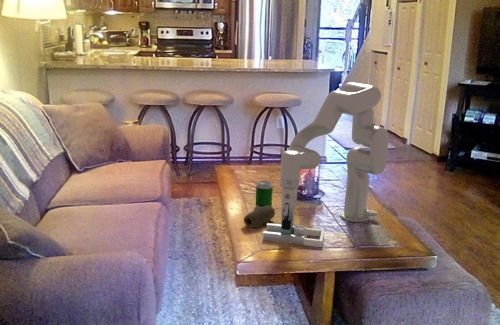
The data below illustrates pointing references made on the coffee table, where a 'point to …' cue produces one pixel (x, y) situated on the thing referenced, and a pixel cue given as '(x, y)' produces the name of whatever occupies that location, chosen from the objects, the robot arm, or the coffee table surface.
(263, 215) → the brown hollow cylinder
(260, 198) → the soda can
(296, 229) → the die
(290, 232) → the block
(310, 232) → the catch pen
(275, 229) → the slot rails
